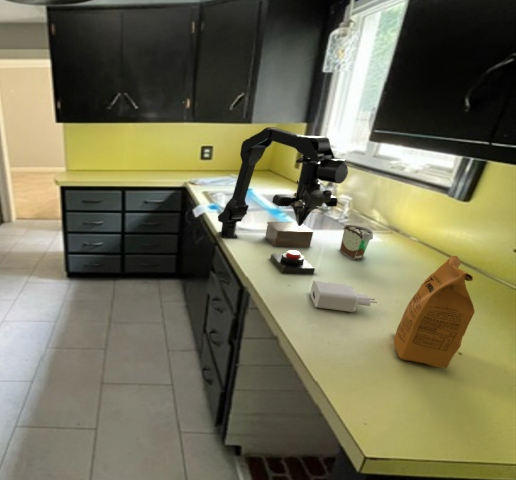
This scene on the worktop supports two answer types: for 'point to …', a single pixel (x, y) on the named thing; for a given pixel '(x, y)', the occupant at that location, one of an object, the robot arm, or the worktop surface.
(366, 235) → the food container
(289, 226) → the lid
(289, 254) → the button
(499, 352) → the worktop surface
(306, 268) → the button box
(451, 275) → the coffee package
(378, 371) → the worktop surface
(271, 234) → the chest
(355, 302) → the charger
